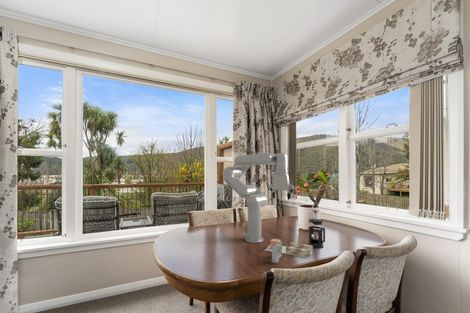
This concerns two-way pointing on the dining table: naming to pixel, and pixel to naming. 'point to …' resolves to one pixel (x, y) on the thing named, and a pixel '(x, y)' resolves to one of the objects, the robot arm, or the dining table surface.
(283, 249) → the mat
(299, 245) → the frame
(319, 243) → the french press
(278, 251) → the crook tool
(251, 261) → the dining table surface
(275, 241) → the block
